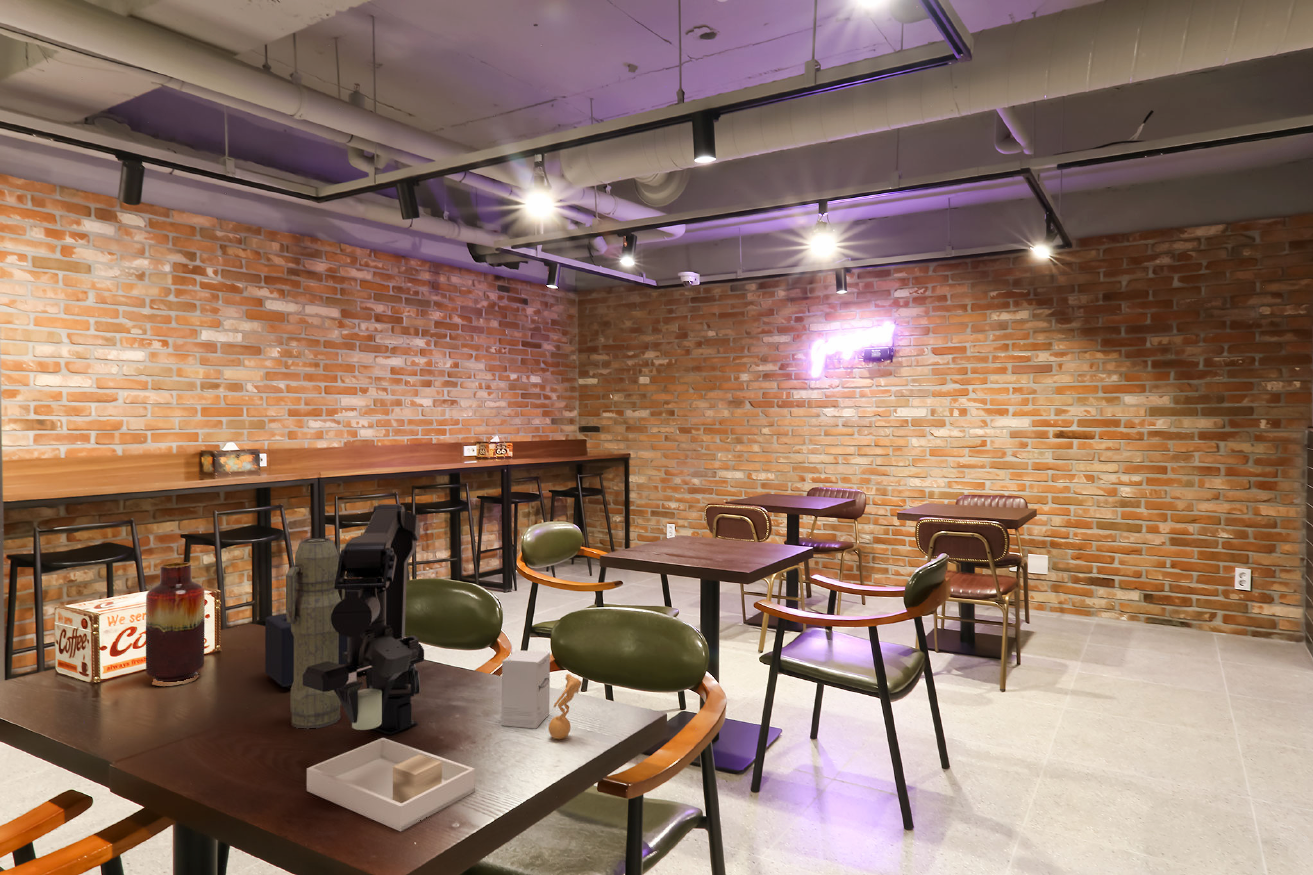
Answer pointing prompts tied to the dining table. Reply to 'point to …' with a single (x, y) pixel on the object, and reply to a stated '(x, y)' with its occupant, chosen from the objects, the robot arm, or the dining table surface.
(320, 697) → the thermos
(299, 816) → the dining table surface
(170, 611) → the vase
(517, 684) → the supplement box
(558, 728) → the figurine
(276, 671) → the speaker
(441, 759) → the bin
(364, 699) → the green cylinder
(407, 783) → the beech cube
